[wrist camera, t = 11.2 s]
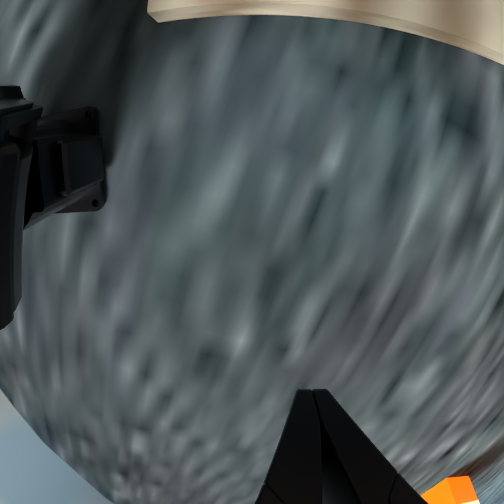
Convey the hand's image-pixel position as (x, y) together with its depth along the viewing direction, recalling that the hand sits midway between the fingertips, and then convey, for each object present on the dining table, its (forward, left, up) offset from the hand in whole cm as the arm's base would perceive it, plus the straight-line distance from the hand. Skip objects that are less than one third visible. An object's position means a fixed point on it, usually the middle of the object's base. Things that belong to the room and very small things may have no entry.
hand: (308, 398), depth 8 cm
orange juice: (+31, -45, -12) cm, 56 cm away
